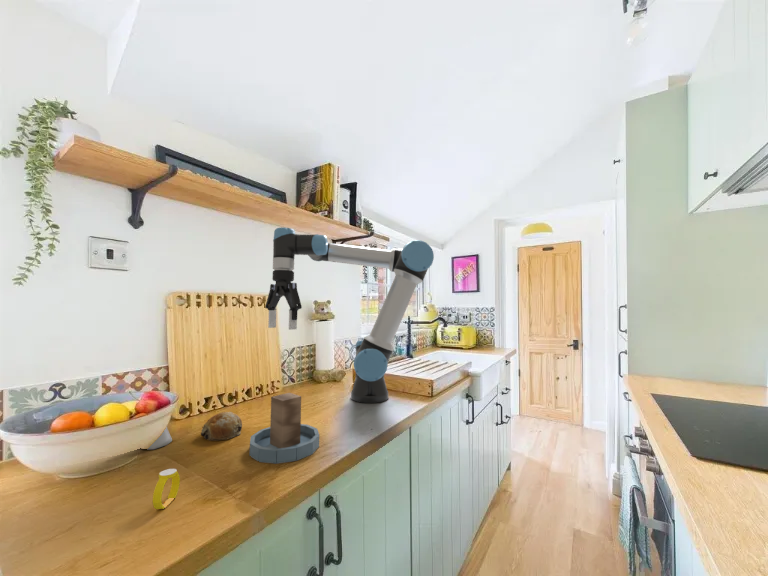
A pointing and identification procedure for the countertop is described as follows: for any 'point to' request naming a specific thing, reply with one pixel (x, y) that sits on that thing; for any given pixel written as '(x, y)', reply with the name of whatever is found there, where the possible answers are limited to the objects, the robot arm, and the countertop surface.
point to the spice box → (285, 420)
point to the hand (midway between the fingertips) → (282, 328)
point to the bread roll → (222, 426)
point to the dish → (272, 454)
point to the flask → (162, 440)
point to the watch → (160, 486)
